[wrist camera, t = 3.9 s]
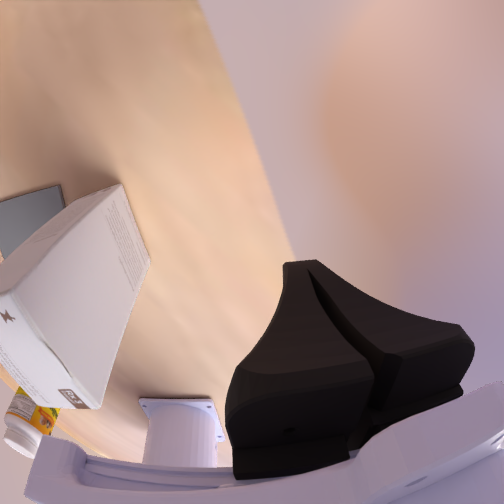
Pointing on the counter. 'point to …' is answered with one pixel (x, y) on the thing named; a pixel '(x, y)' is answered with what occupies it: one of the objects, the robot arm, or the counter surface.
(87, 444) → the counter surface
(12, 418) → the supplement bottle
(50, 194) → the mat
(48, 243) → the skincare box
